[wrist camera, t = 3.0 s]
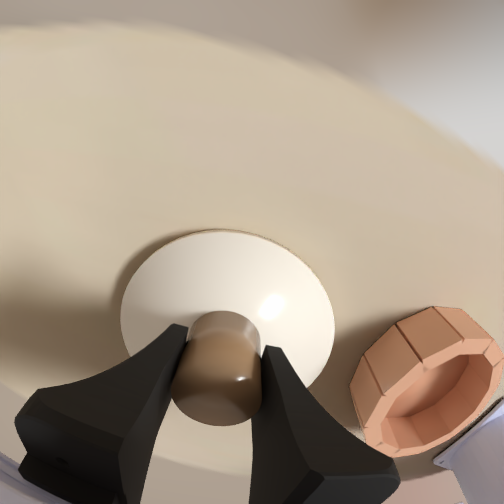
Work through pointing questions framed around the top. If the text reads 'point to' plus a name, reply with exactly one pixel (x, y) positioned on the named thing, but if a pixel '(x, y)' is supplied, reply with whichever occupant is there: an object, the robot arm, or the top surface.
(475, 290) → the top surface
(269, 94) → the top surface
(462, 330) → the bowl
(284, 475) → the robot arm
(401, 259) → the top surface
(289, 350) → the lid
